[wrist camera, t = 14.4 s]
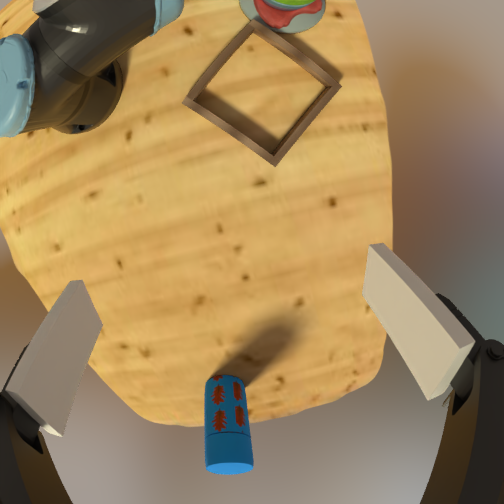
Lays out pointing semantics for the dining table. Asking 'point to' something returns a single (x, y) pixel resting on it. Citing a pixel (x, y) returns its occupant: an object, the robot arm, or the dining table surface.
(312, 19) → the pad
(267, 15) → the stacking bear
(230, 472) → the thermos
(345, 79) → the dining table surface
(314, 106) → the collar
